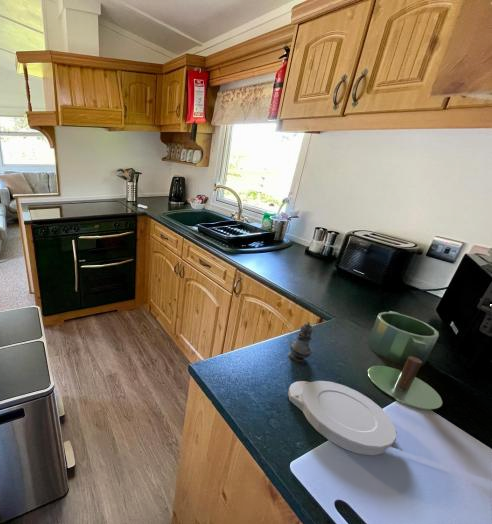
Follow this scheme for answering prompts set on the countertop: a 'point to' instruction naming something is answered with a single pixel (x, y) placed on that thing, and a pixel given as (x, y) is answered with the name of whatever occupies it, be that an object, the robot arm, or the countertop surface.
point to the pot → (401, 338)
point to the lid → (344, 416)
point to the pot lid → (405, 385)
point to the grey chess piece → (301, 345)
